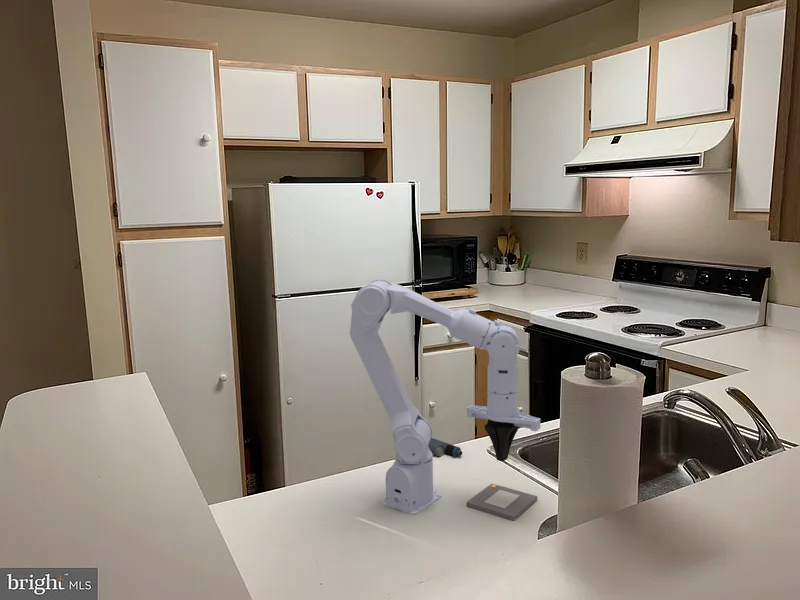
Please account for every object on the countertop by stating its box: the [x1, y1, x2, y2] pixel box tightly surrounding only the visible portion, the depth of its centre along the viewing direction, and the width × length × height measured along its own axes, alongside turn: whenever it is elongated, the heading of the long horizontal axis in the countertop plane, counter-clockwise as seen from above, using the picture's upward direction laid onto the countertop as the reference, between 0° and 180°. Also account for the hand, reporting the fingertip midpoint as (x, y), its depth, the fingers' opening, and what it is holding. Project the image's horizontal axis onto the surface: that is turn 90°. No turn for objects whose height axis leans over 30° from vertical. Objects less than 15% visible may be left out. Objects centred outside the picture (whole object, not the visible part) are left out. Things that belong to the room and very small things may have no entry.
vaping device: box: [428, 437, 463, 458], centre depth 145 cm, size 3×5×12 cm
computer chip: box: [465, 483, 538, 522], centre depth 120 cm, size 10×10×1 cm
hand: (502, 459), depth 118 cm, fingers closed
